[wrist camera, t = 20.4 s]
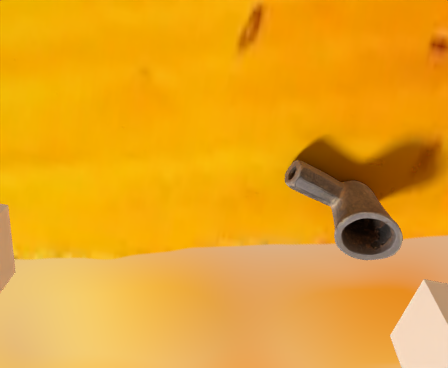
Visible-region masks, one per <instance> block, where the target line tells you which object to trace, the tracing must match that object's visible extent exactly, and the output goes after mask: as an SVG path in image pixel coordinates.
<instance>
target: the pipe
mask: <svg viewBox="0 0 448 368" xmlns="http://www.w3.org/2000/svg"><path fill="white" fill-rule="evenodd" d="M285 183H286V184H287V185H288V186H289V187H290V188H291V189H293V190H296V191H298V192H300V193H302V194H304V195H306V196H308V197H310V198H313V199H315V200H317V201H320V202H322V203H324V204H326V205H328V206H331V209H332V212H333V217H334V224H335V242H336V244H337V246H338V248H339V249H340V250H341V251H343V252H344V253H345V254H347V255H349V256H351V257H353V258H357V259H362V260H376V259H383V258H387V257H390V256H392V255H394V254H395V253H396V252H397V251H398V250H399V249H400V247H401V244H402V241H403V236H402V233H401V230H400V228H399V226H398V224H397V223H396V222H395V221H394V220H393V219H392V218H391V217H390V216H389V214H388V213H387V212H386V211H385V209H384V208H383V207H382V205H381V204H380V202H379V201H378V199H377V198H376V196H375V194H374V193H373V191H372V190H371V189H370V188H369V187H368V186H366V185H365V184H363V183H361V182H359V181H355V180H352V181H346V182H340V181H338V180H336V179H335V178H333V177H331V176H330V175H328V174H326V173H324V172H323V171H321V170H319V169H317V168H315V167H313V166H311V165H309V164H307V163H305V162H303V161H300V160H295V161H293V163H292V164H291V166H290V167H289V168H288V170H287V172H286V174H285Z"/></svg>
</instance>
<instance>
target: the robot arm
mask: <svg viewBox="0 0 448 368" xmlns="http://www.w3.org/2000/svg"><path fill="white" fill-rule="evenodd" d="M14 273H15V264H14V255H13V246H12V237H11V228H10V219H9V210H8V205H4V204H0V293H1V291H2V290H3V289H4V287H5V285H6V284H7V283H8V282H9V280H10V279H11V277H12V276H13V274H14ZM390 337H391V340H392V343H393V345H394V348H395V351H396V353H397V356H398V359H399V362H400V365H401V367H402V368H448V285H447V283H442V282H436V281H431V280H425V279H424V280H423V282H422V283H421V285H420V286H419V288H418V290H417V291H416V293H415V295H414V297H413V298H412V300H411V301H410V303H409V305H408V307H407V308H406V310H405V312H404V313H403V315H402V317H401V318H400V320H399V322H398V323H397V325H396V327H395V328H394V330H393V332H392V334H391V335H390Z"/></svg>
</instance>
